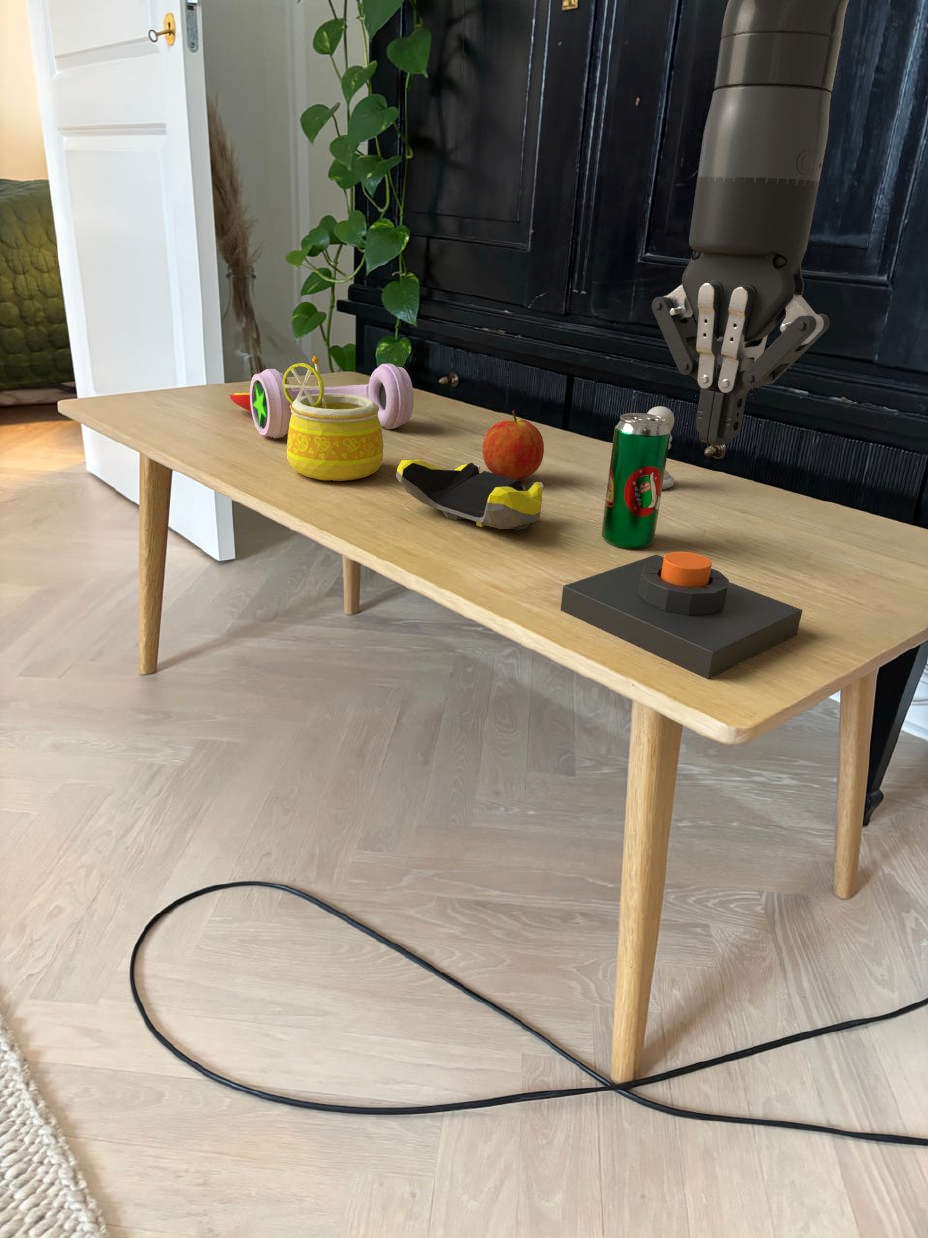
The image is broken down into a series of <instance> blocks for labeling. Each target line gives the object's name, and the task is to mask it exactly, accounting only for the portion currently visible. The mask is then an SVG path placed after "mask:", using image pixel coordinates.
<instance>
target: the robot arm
mask: <svg viewBox="0 0 928 1238" xmlns="http://www.w3.org/2000/svg"><path fill="white" fill-rule="evenodd" d="M849 1H850V0H728V1H727V5H726V8H725V12H724V16H723V22H722V26H721V33H720V41H719V49H718V56H717V63H716V71H715V79H714V86H713V90H714V91H713V92H712V98H711V102H710V104H709V105H710V106H709V109H708V113H707V117H706V121H705V125H704V130H703V134H702V141H701V149H700V157H699V161H698V172H697V178H696V185H695V193H694V199H693V205H692V206H693V208H692V213H691V214H692V215H691V223H690V229H689V236H688V245H689V248H690V252H691V253H690V259H689V262H688V264H687V266H686V267H685V269H684V271H683V273H682V276H681V284H680V285H678V286H677V287H676V288H675V289H674V290H672V291H671V292H670V293H668V294H667V295H664V296H657V297H655V298H654V299H653V300H652V302H651V311H652V313H653V315H654V317H655V319H656V322H657V324H658V327H659V329H660V331H661V334H662V335H663V338H664V341H665V342H666V345H667V347H668V350H669V351H670V354H671V356H672V358H673V360H674V363H675V366H676V367H677V370H678V372H679V373H680V375H683V376H690V377H691V378H693V379H694V380H696V382H697V384H698V386H699V388H700V391H699V399H698V405H697V411H696V419H695V430H696V432H697V433H699V434H698V440H699V441H700V442H702V443H705V444H710V445H714V446H718V447H719V446H724V445H728V444H730V443H731V442H732V441H733V439H734V438H736V437H737V436H738V435H739V433H740V431H741V428H742V422H743V417H744V412H745V407H746V401H747V395H748V393H749V391H751V390H752V389H754V388H758V387H763V386H768V385H773V384H774V383H775V382H776V381H777V380H778V379H780V377H781V376H782V375H783V374H784V373H786V371H787V370H789V368H790V367H791V366H792V365H794V363H796V361H798V360H799V358H801V356H802V355H804V353H805V352H807V351H808V349H809V348H811V346H813V345H814V343H815V342H817V340H818V339H820V337H822V335H824V333H826V331H827V330H828V329H829V327H830V321H831V320H830V317H828V315H826V313H825V314H824V313H816V312H815V311H814V309H813V308H812V307H811V305H809V303H808V302H807V300H805V298H804V297H803V293H804V289H805V282H804V278H803V275H802V262H803V258H804V256H805V254H806V252H807V249H808V243H809V238H810V234H811V233H810V232H811V228H812V222H813V217H814V211H815V206H816V201H817V196H818V190H819V185H820V180H821V175H822V170H823V163H824V158H825V153H826V147H827V142H828V134H829V125H830V124H829V123H830V110H831V109H830V108H831V99H832V93H831V92H832V91H833V87H834V82H835V77H836V71H837V66H838V60H839V55H840V49H841V44H842V42H841V41H842V39H843V32H844V24H845V17H846V12H847V7H848V4H849ZM693 316H694V317H693ZM695 321H696V322H695ZM781 321H782V322H781ZM780 322H781V323H780ZM779 323H780V326H779V331H780V332H781V333H780V334H779V336H777V338H776V339H775V340H774V341H773V342H772V343H771V344H770V345H769V346H768V347H767V348H766V344H767V340H768V336H769V334H771V332H772V331H773V330H774V329H775V328H776V327H777V326H778V324H779ZM765 348H766V349H765Z"/></svg>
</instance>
